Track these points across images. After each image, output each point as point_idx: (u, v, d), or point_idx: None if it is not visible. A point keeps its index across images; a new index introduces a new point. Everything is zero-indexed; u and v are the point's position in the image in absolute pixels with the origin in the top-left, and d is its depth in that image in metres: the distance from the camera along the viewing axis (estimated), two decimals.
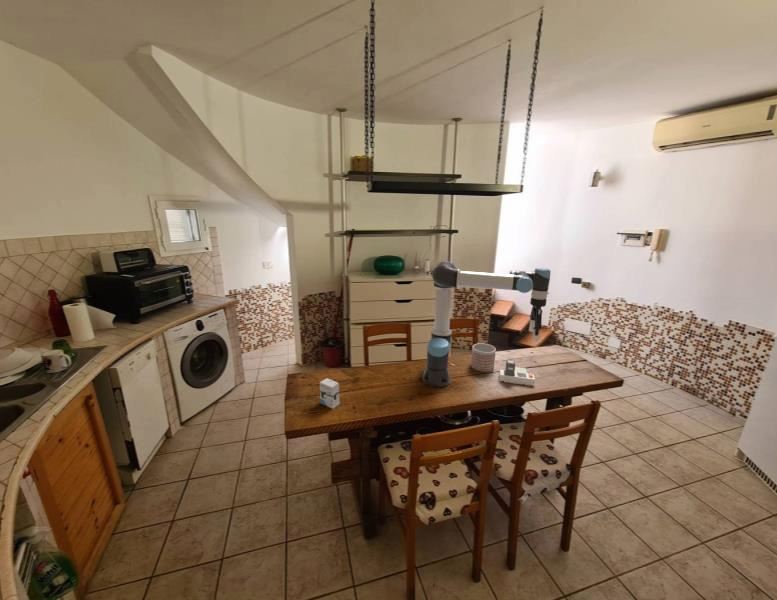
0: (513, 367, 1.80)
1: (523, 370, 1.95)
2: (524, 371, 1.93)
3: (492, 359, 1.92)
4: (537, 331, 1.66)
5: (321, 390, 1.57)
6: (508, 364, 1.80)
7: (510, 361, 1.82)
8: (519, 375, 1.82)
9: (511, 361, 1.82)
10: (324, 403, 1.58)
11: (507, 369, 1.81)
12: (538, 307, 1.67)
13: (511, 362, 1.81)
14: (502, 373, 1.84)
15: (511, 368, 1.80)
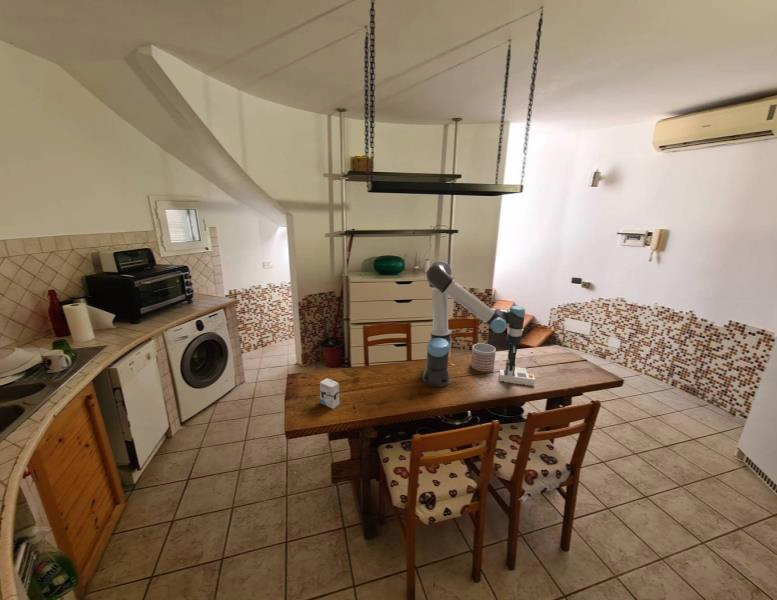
0: None
1: (523, 370, 1.95)
2: (524, 371, 1.93)
3: (492, 359, 1.92)
4: (511, 367, 1.78)
5: (321, 390, 1.57)
6: None
7: None
8: (519, 375, 1.82)
9: None
10: (324, 403, 1.58)
11: (507, 369, 1.81)
12: (513, 344, 1.75)
13: None
14: (502, 373, 1.84)
15: None
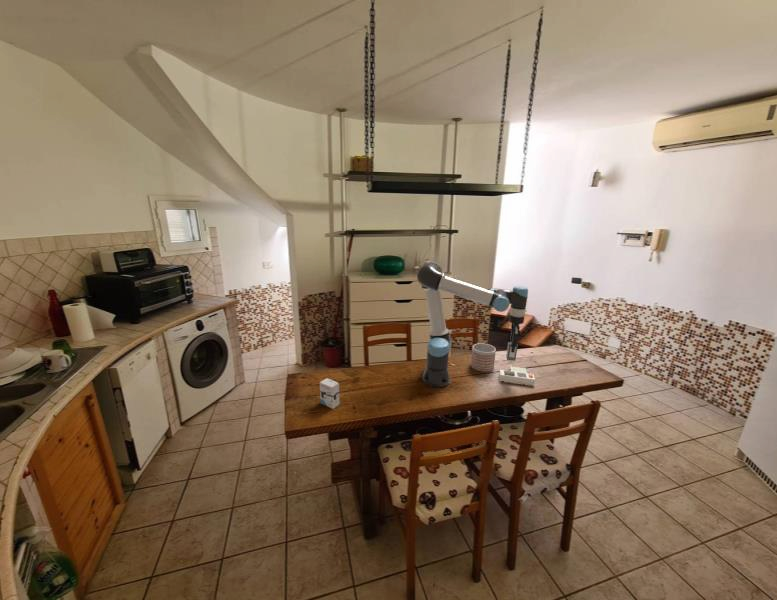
0: None
1: (523, 370, 1.95)
2: (524, 371, 1.93)
3: (492, 359, 1.92)
4: (513, 348, 1.75)
5: (321, 390, 1.57)
6: None
7: None
8: (519, 375, 1.82)
9: None
10: (324, 403, 1.58)
11: (509, 351, 1.78)
12: (516, 324, 1.72)
13: None
14: (502, 373, 1.84)
15: None
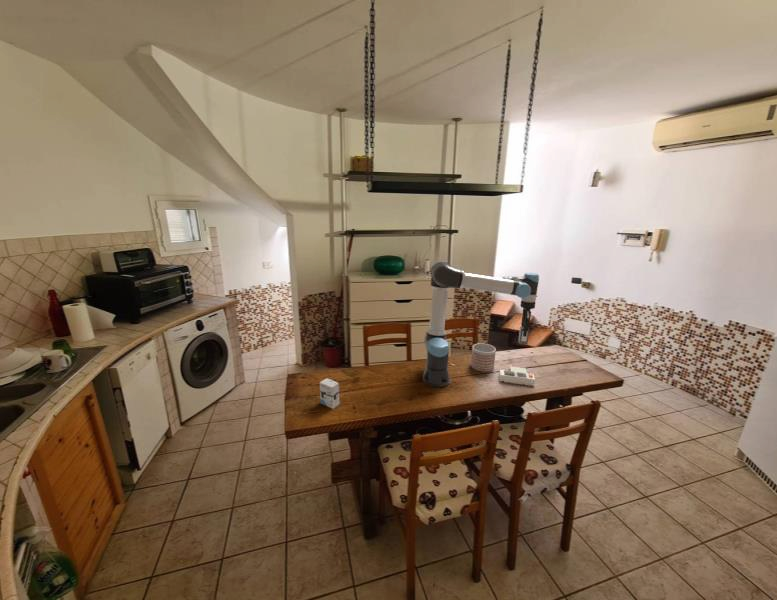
0: (527, 333, 1.85)
1: (523, 370, 1.95)
2: (524, 371, 1.93)
3: (492, 359, 1.92)
4: (525, 332, 1.83)
5: (321, 390, 1.57)
6: None
7: None
8: (519, 375, 1.82)
9: None
10: (324, 403, 1.58)
11: (521, 335, 1.86)
12: (527, 309, 1.80)
13: None
14: (502, 373, 1.84)
15: None
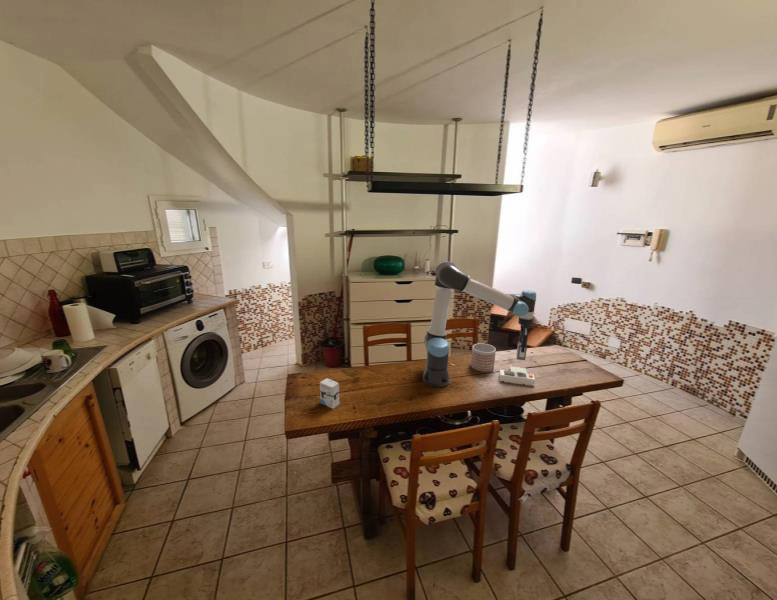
0: (525, 349, 1.88)
1: (523, 370, 1.95)
2: (524, 371, 1.93)
3: (492, 359, 1.92)
4: (523, 349, 1.86)
5: (321, 390, 1.57)
6: None
7: None
8: (519, 375, 1.82)
9: None
10: (324, 403, 1.58)
11: (519, 351, 1.89)
12: (525, 326, 1.83)
13: None
14: (502, 373, 1.84)
15: None
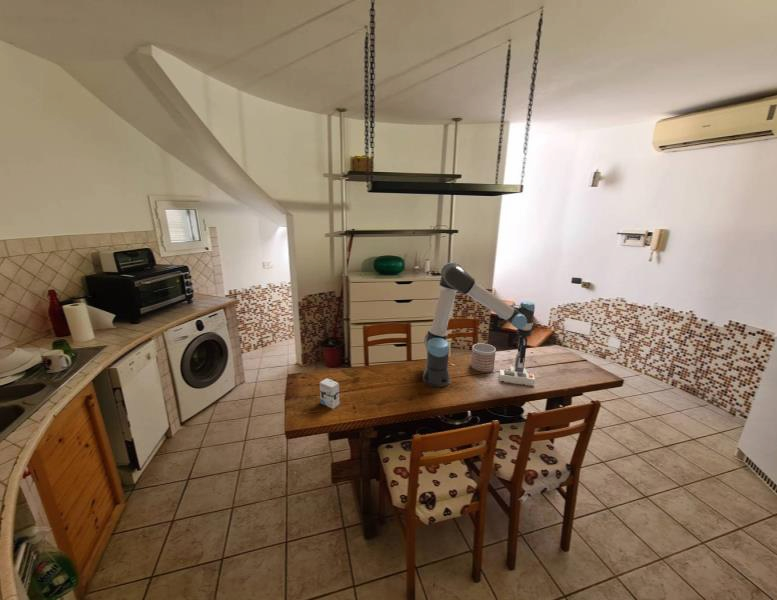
0: None
1: (523, 370, 1.95)
2: (524, 371, 1.93)
3: (492, 359, 1.92)
4: (521, 359, 1.87)
5: (321, 390, 1.57)
6: (518, 359, 1.90)
7: None
8: (519, 375, 1.82)
9: None
10: (324, 403, 1.58)
11: (517, 363, 1.91)
12: (523, 337, 1.85)
13: None
14: (502, 373, 1.84)
15: None
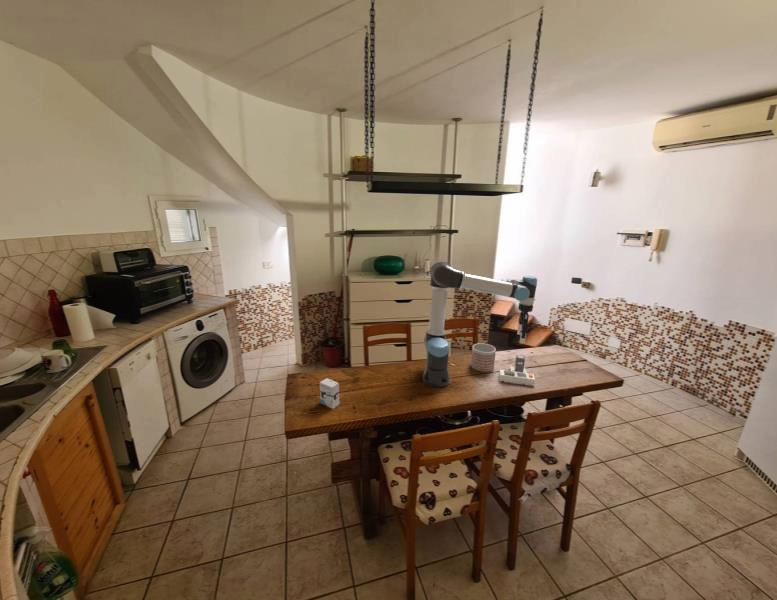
0: (523, 362, 1.90)
1: (523, 370, 1.95)
2: (524, 371, 1.93)
3: (492, 359, 1.92)
4: (524, 334, 1.80)
5: (321, 390, 1.57)
6: (518, 359, 1.90)
7: (520, 356, 1.92)
8: (519, 375, 1.82)
9: (521, 356, 1.92)
10: (324, 403, 1.58)
11: (517, 364, 1.91)
12: (525, 312, 1.81)
13: (521, 357, 1.91)
14: (502, 373, 1.84)
15: (521, 363, 1.90)
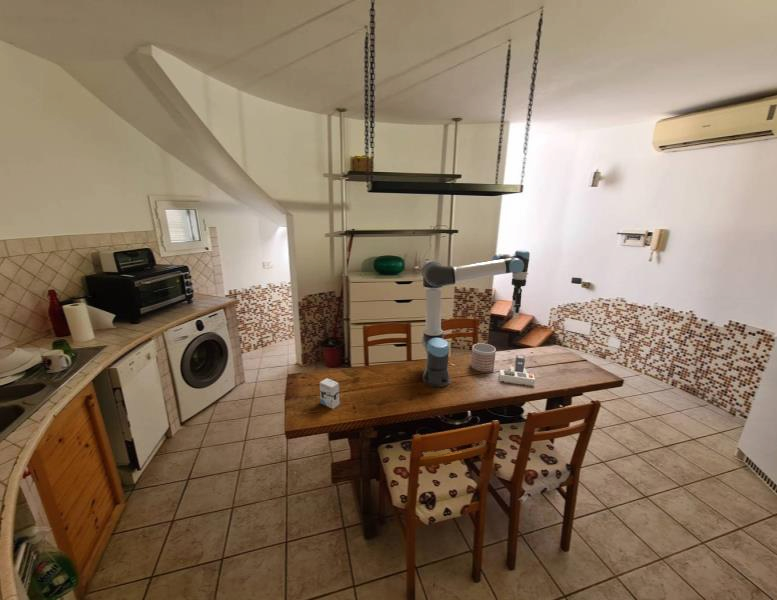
0: (523, 362, 1.90)
1: (523, 370, 1.95)
2: (524, 371, 1.93)
3: (492, 359, 1.92)
4: (517, 309, 1.79)
5: (321, 390, 1.57)
6: (518, 359, 1.90)
7: (520, 356, 1.92)
8: (519, 375, 1.82)
9: (521, 356, 1.92)
10: (324, 403, 1.58)
11: (517, 364, 1.91)
12: (518, 287, 1.80)
13: (521, 357, 1.91)
14: (502, 373, 1.84)
15: (521, 363, 1.90)
